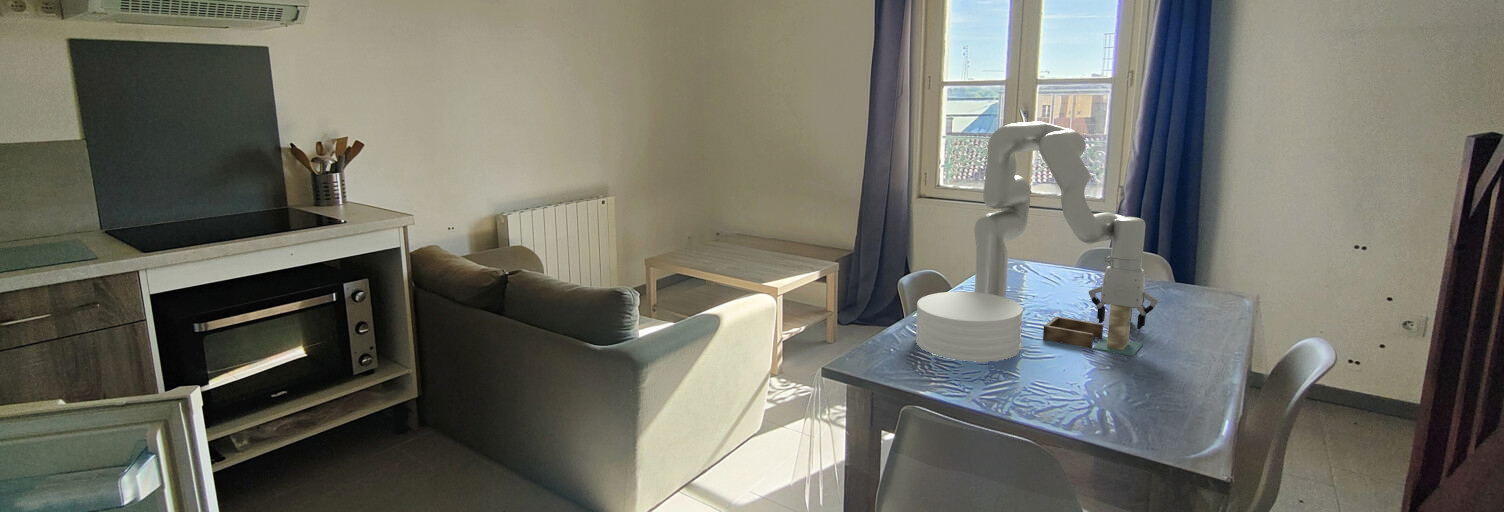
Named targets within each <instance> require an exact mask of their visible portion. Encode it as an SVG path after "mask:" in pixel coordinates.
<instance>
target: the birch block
mask: <svg viewBox="0 0 1504 512" xmlns="http://www.w3.org/2000/svg"><path fill="white" fill-rule="evenodd" d="M1131 312H1132V313H1133V308H1128V307H1125V306H1118V305H1112V304H1111V305H1110V311H1109V318H1110V320H1108V333H1107V337H1108V342H1107V347H1109V348H1114V349H1120V350H1123V349H1124V348H1125V347H1126V346H1127V345H1128V343H1129V341H1130V330H1131V323H1132V322H1131V321H1132V317H1131Z"/></svg>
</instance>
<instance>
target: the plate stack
mask: <svg viewBox="0 0 1504 512" xmlns="http://www.w3.org/2000/svg"><path fill="white" fill-rule="evenodd" d="M916 308H917V309H916V310H917V311H916V330H915V331H916V333H915V334H916V337H915V344H916V343H917V344H918V346H919V347H921V348H922V349H924V350H925V351H928V352H930V353H933V354H936V355H938V356H942V357H945V358H950V359H955V360H962V361H964V360H965V361H976V362H975V363H989V362H988V361H995V362H1000V361H999V360H1002V361H1005V360H1004V359H1006V360H1008V358H1009V359H1012V358H1013V356H1014V357H1016V356H1018V354H1019V353H1020V351H1021V343H1022V342H1021V341H1022V329H1023V328H1022V324H1023V313H1024V312H1023V311H1024V310H1023V306H1022V305H1021V304H1020V303H1018V302H1017V301H1015V300H1013V299H1010V298H1007V297H1006V298H1004V297H1001V296H997V295H992V294H985V293H977V292H975V291H946V292H945V291H944V292H937V293H931V294H928V295H924V296H922V297H921V298H919V299H918V301H917V303H916ZM917 344H916V345H917ZM918 346H917V347H918ZM919 347H918V348H919ZM1011 357H1012V358H1011ZM962 361H961V362H962Z"/></svg>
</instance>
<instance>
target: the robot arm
mask: <svg viewBox="0 0 1504 512" xmlns="http://www.w3.org/2000/svg"><path fill="white" fill-rule="evenodd" d="M987 144H988V145H987V158H986V159H987V160H986V168H985V177H984V185H983V194H982V195H983V197H982V198H983V202H984V204H985V206H986V207H987V208H989V209H992V210H999V211H993V212H988V213H986V214H983V215H982V216H980V217H979V218H978V219H977V220H976V221H975V224H974V227H973V229H974V230H973V232H974V240H975V247H976V248H975V254H976V255H975V275H974V276H975V277H974V279H975V280H974V292H977V293H985V294H992V295H997V296H1001V297H1004V298H1007V284H1008V283H1007V282H1008V269H1009V253H1008V250H1007V247H1006V242H1008V241H1012V240H1013V241H1014V240H1017V239H1018V238H1020V237H1022V236H1023V235H1024V234H1025V231H1026V228H1027V224H1028V218H1029V213H1030V211H1029V210H1030V204H1031V197H1032V196H1031V195H1032V192H1031V187H1030V184H1029V182H1028V181H1027V179H1025V178H1024V177H1023V176H1020V175H1017V174H1016V172H1017V160H1016V156H1015V154H1017V153H1025V152H1035V151H1037V152H1039V154H1040V155H1041V157H1042V159H1043V160H1044V163H1045V164H1046V166H1047V167H1048V169H1049V171H1050V173H1051V175H1052V176H1053V178H1054V180H1055V182H1056V183H1057V185H1058V186H1059V190H1060V194H1061V195H1060V201H1061V203H1060V204H1061V209H1062V210H1061V211H1062V214H1063V216H1064V219H1065V221H1066V223H1067V224H1068V226H1069V228H1070V229H1071V231H1072V233H1073V234H1074V236H1075V237H1076V238H1077V239H1078V240H1079V241H1080V242H1082V243H1085V244H1089V245H1091V244H1096V243H1100V242H1101V243H1102V242H1105V241H1110V240H1111V241H1112V242H1111V251H1110V252H1111V253H1110V254H1111V255H1110V256H1105V257H1104V262H1105V263H1108V264H1109V265H1108V266H1107V267H1106V269H1105V271H1104V276H1103V280H1102V285H1101V286H1098V287H1096V288H1092V289H1090V290H1089V291H1088V295H1089V297H1090V298H1091V302H1092V303H1093V305H1095V307H1096V308H1097V312H1096V313H1097V314H1096V315H1097V316H1096V319H1098V323H1099V324H1103V322H1104V321H1105V317H1106V306H1105V305H1110V306H1111V304H1112V305H1118V306H1125V307H1128V308H1132V309H1136V310H1137V311H1138V313H1139V314H1138V316H1137V324H1136V329H1137V330H1141V329H1142V328H1143V327H1145V324H1146V317H1147V314H1148V313H1150V312H1152V311H1153V310H1154V309H1155V307H1156V306H1157V305H1158V303H1159V301H1160V299H1158V298H1156V297H1155V296H1153V295H1152V294H1150V293H1148V292H1147V291H1146V280H1145V271H1144V269H1143V268H1142V265H1143V264H1142V263H1143V254H1144V247H1145V246H1144V245H1145V236H1146V222H1145V220H1144V219H1143V218H1140V217H1135V216H1124V215H1120V214H1117V213H1114V212H1109V211H1108V212H1107V211H1105V212H1099V213H1094V214H1093V211H1092V210H1091V209H1090V207H1089V204H1088V202H1087V200H1086V195H1085V192H1086V191H1085V190H1086V187H1087V185H1088V183H1089V181H1090V179H1091V173H1090V171H1089V170H1088V168H1087V167H1086V165H1085V163H1084V161H1083V159H1082V158H1081V156H1082V155H1084V152H1085V150H1086V141H1085V138H1084V137H1083V135H1081V134H1080V133H1079V132H1078V131H1076V130H1074V129H1070V128H1065V127H1062V126H1059V125H1055V124H1052V123H1047V122H1044V121H1030V122H1028V121H1027V122H1016V123H1009V124H1006V125H1003V126H1000V127H999V128H997V129H996V130H995V131H993V133H992V134H991V136H990V137H989V140H988V143H987ZM1098 293H1101V294H1100V298H1099V297H1097V294H1098ZM1145 300H1147V301H1148V302H1150V304H1149V305H1148V306H1145V305H1144V302H1145Z"/></svg>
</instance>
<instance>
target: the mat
mask: <svg viewBox="0 0 1504 512" xmlns="http://www.w3.org/2000/svg"><path fill="white" fill-rule="evenodd" d="M1107 342H1108V336H1103V337H1102V339H1100V340H1099V341H1098V342H1097V343H1096V344H1095V346H1093V347H1092V349H1093V350H1096V351H1102V352H1107V353H1112V354H1117V355H1123V356H1128V357H1134V356H1135V355H1136V354H1137V353H1138V352H1139V350H1140V349H1141V348H1142V347H1143V346H1144V343H1141V342H1135V341H1132V340H1129V343H1128V345H1127V346H1126V347H1125V348H1124V349H1123V350H1120V349H1114V348H1109V347H1107Z"/></svg>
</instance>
